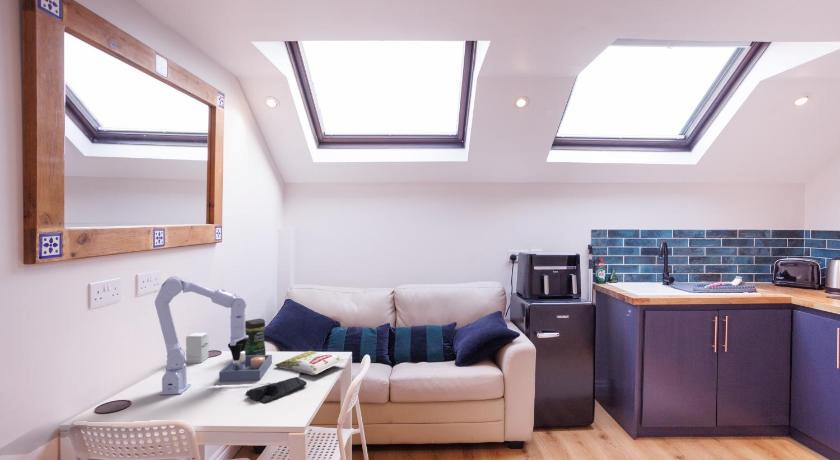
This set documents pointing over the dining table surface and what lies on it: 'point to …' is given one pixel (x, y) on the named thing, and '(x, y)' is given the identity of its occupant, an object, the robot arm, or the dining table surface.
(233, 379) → the slate blue tote
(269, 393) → the dark slate chunk
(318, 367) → the frozen beans
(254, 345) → the coffee jar
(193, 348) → the supplement box
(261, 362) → the peach round blob
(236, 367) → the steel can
